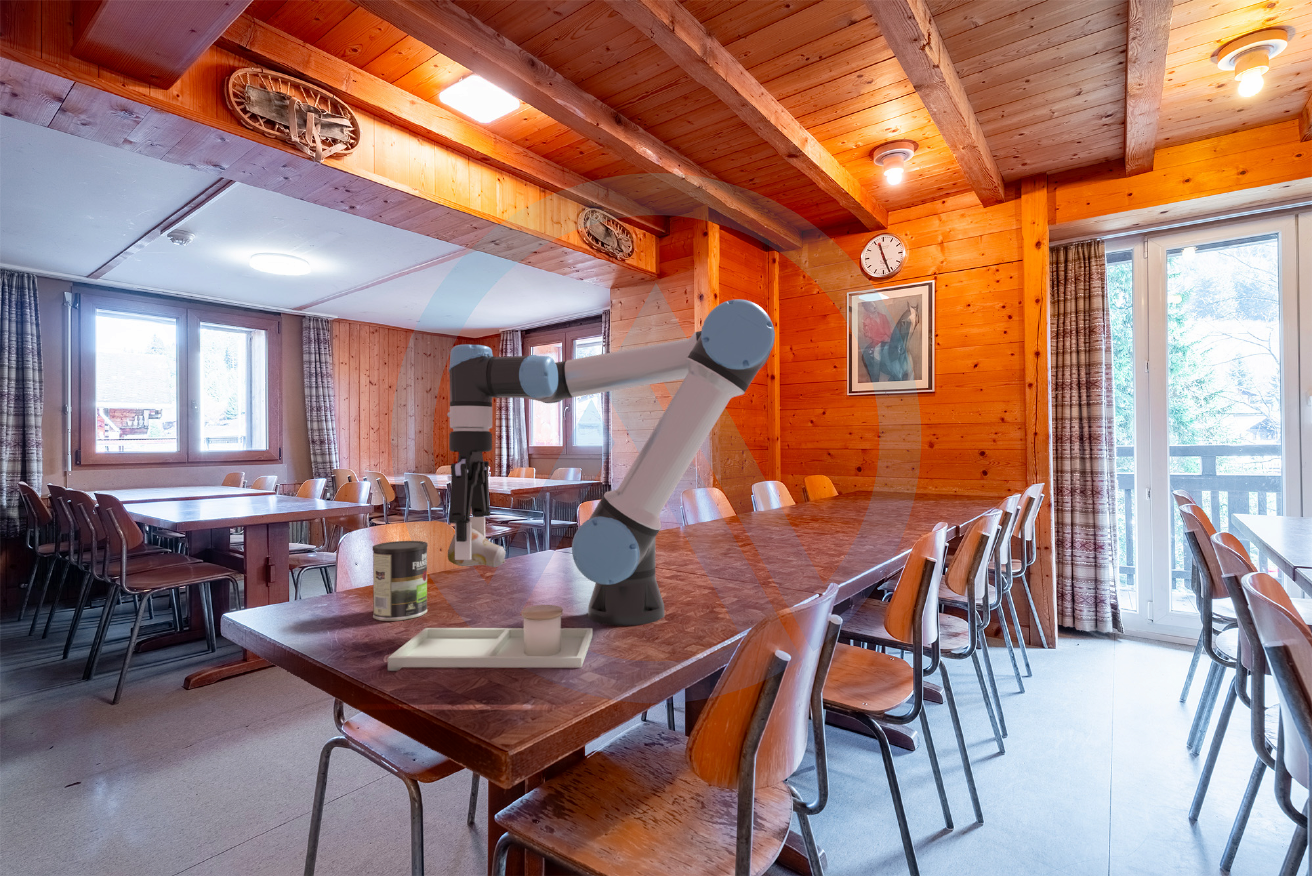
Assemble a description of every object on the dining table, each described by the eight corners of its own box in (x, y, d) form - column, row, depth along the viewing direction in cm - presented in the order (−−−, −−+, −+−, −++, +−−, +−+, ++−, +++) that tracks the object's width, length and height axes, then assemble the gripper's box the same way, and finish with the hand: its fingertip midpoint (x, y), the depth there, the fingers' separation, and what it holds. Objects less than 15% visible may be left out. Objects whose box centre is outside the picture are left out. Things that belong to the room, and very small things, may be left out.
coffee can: (435, 607, 128) (435, 540, 128) (415, 621, 117) (415, 549, 117) (386, 606, 128) (386, 540, 128) (362, 621, 117) (362, 549, 117)
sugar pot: (565, 643, 102) (565, 604, 102) (559, 657, 96) (559, 616, 96) (526, 643, 102) (526, 604, 102) (517, 657, 96) (517, 616, 96)
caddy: (592, 639, 106) (592, 628, 106) (581, 671, 92) (581, 658, 92) (425, 639, 107) (425, 627, 107) (387, 670, 92) (387, 657, 92)
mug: (501, 572, 107) (472, 524, 105) (459, 592, 109) (430, 545, 108) (519, 554, 114) (491, 509, 112) (479, 573, 116) (451, 529, 115)
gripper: (469, 431, 121) (469, 545, 121) (428, 429, 101) (428, 566, 101) (506, 431, 121) (506, 545, 121) (472, 429, 101) (472, 566, 101)
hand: (470, 555), depth 111 cm, fingers closed on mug, 7 cm apart
